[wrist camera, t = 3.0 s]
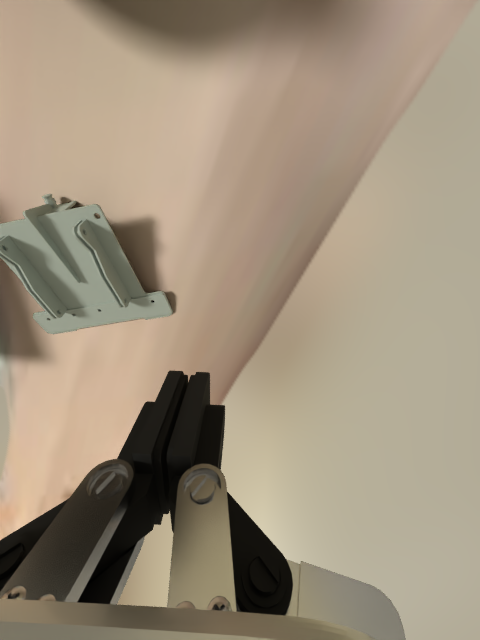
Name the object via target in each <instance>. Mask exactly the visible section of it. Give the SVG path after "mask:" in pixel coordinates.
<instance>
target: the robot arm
mask: <svg viewBox="0 0 480 640" xmlns="http://www.w3.org/2000/svg"><path fill="white" fill-rule="evenodd" d="M224 425H225V406H224V405H210V373H208V372H196V374H195V375H191V376H190V380H189V383H188V375H184V373H183V371H169V372H168V374H167V376H166V379H165V381H164V383H163V385H162V388H161V390H160V392H159V394H158V396H157V399H156V401H155V402H146V403H145V404H144V406H143V408H142V410H141V412H140V414H139V416H138V418H137V420H136V422H135V424H134V426H133V428H132V430H131V432H130V434H129V436H128V438H127V440H126V442H125V444H124V446H123V448H122V450H121V452H120V454H119V456H118V458H117V459H113V460H108V461H105V462H103V463H101V464H99V465H98V466H96V467H95V468H93V469H92V470H91V471H90V472H89V473H88V474H87V475H86V477H85V478H84V479H83V481H82V482H81V483H80V485H79V486H78V488H77V489H76V490H75V492H74V493H73V494H72V496H71V497H70V498H69V499H67V500H66V501H64V502H63V503H61V504H59V505H58V506H56V507H54V508H53V509H51V510H49V511H48V512H46V513H44V514H43V515H41V516H40V517H38V518H36V519H35V520H33V521H31V522H30V523H28V524H26V525H25V526H23V527H21V528H20V529H18V530H17V531H15V532H13V533H12V534H10V535H8V536H7V537H5V538H3V539H2V540H1V541H0V640H406V639H405V634H404V629H403V625H402V622H401V619H400V616H399V614H398V612H397V610H396V608H395V607H394V605H393V604H392V602H391V600H390V599H389V598H387V596H386V595H385V594H384V593H383V592H381V591H380V590H379V589H377V588H375V587H374V586H372V585H369V584H366V583H363V582H361V581H358V580H355V579H352V578H349V577H346V576H343V575H340V574H337V573H335V572H331V571H328V570H326V569H323V568H320V567H317V566H314V565H311V564H308V563H306V562H303V561H301V563H300V564H298V563H295V562H292V561H290V560H287V559H285V557H284V556H283V554H282V553H281V552H280V551H279V550H278V549H277V547H276V546H275V545H274V544H273V543H272V542H271V541H270V539H269V538H268V537H267V536H266V535H265V534H264V533H263V532H262V530H261V529H260V528H259V527H258V526H257V525H256V524H255V522H254V521H253V520H252V519H251V518H250V517H249V516H248V515H247V513H246V512H245V511H244V510H243V509H242V508H241V507H240V505H239V504H238V503H237V502H236V501H235V500H234V499H233V498H232V496H231V495H230V494H229V493H228V492H227V487H226V480H225V476H224V475H223V473H222V472H221V470H220V469H221V460H222V449H223V438H224ZM169 511H170V514H171V523H172V531H173V533H174V536H173V547H172V558H171V571H170V581H169V593H168V604H167V607H149V606H131V605H117V603H118V600H119V598H120V596H121V594H122V591H123V589H124V587H125V585H126V582H127V580H128V578H129V575H130V573H131V571H132V568H133V566H134V563H135V561H136V559H137V557H138V554H139V552H140V550H141V547H142V545H143V541H144V537H145V535H147V534H148V533H149V532H150V531H152V530H153V527H154V524H158V525H161V521H162V517H163V514H168V513H169Z"/></svg>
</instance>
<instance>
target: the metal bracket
mask: <svg viewBox="0 0 480 640" xmlns="http://www.w3.org/2000/svg"><path fill="white" fill-rule="evenodd" d="M42 198H44V200H45V201H44V202H45V203H46V205H42V206H39V207H36V208H32V209H29V210H26V211H23V215H24V217H25V218H26V219H21V220H16V221H12V222H7V223H2V224H0V258H1V259H3V260H4V262H5V263H6V264H7V265H8V266H9V267H10V268H11V270H12V271H13V272H14V273H15V274H16V275H17V276H18V278H19V279H20V280H21V281H22V283H23V285H24V286H25V288H26V290H27V291H28V292H29V294H30V295H31V296H32V297H33V298H34V299H35V300H36V301H37V303H38V304H39V305H40V306H41V307H42V308H43V309H44V310H45V311H42V312H36V313H34V314H33V319H34V320H35V321H36V322H37V323H38V324H39V325H40V326H41V327H42V328H43V329H44V330H45V331H46V332H47V333H50V334H58V333H64V332H70V331H77V329H80V328H87V327H93V326H99V325H105V324H111V323H117V322H123V321H129V320H135V319H141V318H144V319H146V320H147V319H154V318H160V317H167V316H170V315H171V314H172V313H173V310H172V308H171V305H170V303H169V301H168V299H167V297H166V295H165V293H164V292H163V291H158V292H152V293H146V292H145V291H144V290H143V288H142V286H141V284H140V282H139V280H138V278H137V276H136V274H135V273H134V271H133V269H132V267H131V265H130V263H129V261H128V259H127V257H126V255H125V253H124V251H123V249H122V248H121V246H120V244H119V242H118V240H117V238H116V236H115V234H114V232H113V230H112V228H111V226H110V225H109V223H108V221H107V219H106V217H105V215H104V213H103V211H102V209H101V207H100V206H99V205H97V204H92V205H87V206H83V207H78V208H73V209H70V208H71V207H73V206H74V205H75V204H76V203H77V202H76V201H73V202H70V203H63V204H59V205H57V204H56V201H55V199H54V198H52V194H47V195H44V196H42ZM95 213H98V214H99V215H100V219H98V218H96V217H95V215H94V214H95ZM151 300H153V301H154V302H152V301H151ZM98 309H100V310H101V311H99V310H98ZM73 314H75V315H73ZM48 318H50V319H48Z"/></svg>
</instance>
